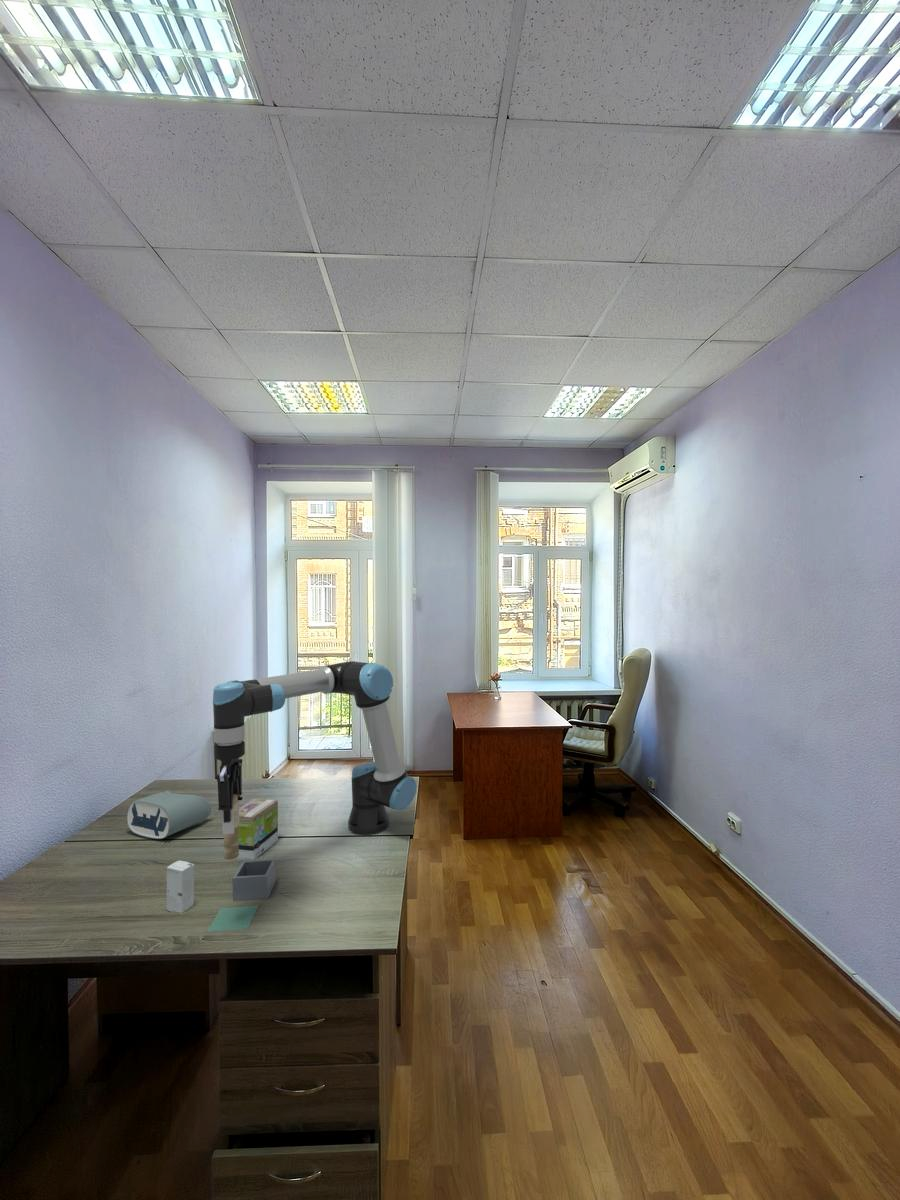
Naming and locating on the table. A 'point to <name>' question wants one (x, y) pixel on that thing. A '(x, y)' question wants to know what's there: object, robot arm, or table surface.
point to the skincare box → (180, 886)
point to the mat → (233, 918)
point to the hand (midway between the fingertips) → (231, 829)
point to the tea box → (257, 827)
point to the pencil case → (166, 814)
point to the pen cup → (254, 880)
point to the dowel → (232, 835)
